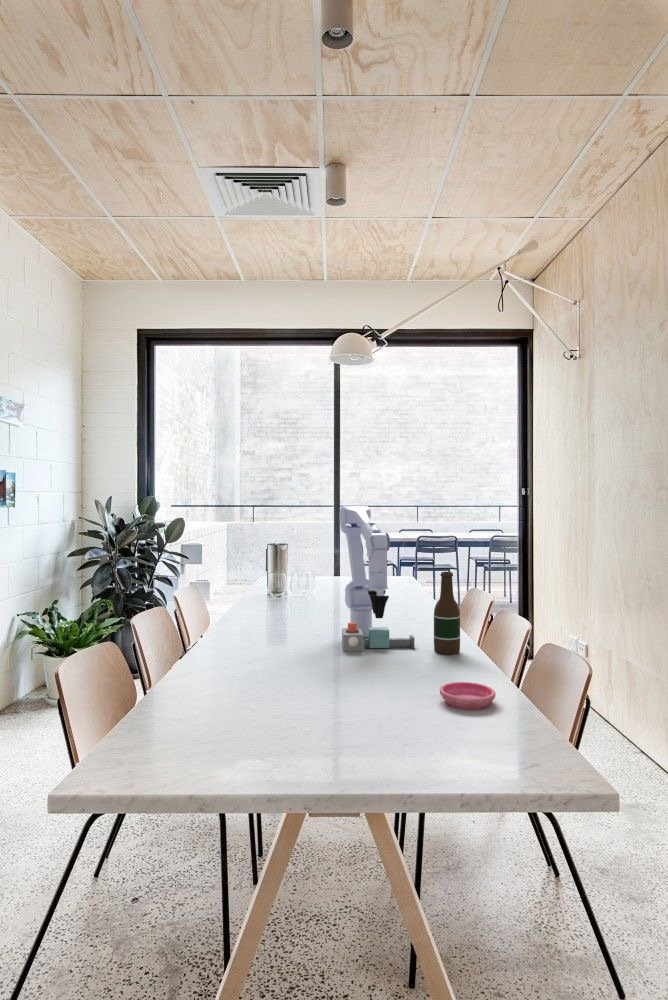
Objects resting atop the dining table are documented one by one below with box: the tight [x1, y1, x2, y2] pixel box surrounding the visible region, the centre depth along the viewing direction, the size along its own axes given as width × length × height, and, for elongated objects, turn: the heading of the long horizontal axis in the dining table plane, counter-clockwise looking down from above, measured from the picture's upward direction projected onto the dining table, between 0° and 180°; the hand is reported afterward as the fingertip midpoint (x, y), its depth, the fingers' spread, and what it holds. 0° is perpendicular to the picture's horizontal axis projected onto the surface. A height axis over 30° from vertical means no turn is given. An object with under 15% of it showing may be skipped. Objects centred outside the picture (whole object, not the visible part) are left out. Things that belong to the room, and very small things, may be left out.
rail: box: [364, 634, 415, 649], centre depth 198 cm, size 4×15×3 cm, turn 92°
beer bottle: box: [433, 571, 461, 656], centre depth 191 cm, size 8×8×24 cm
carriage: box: [368, 626, 390, 649], centre depth 198 cm, size 4×6×5 cm
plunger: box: [347, 622, 357, 633], centre depth 197 cm, size 3×3×4 cm
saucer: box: [439, 681, 496, 710], centre depth 145 cm, size 12×12×3 cm
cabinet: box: [341, 627, 364, 653], centre depth 197 cm, size 10×6×5 cm, turn 2°
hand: (377, 615), depth 198 cm, fingers open, 7 cm apart
